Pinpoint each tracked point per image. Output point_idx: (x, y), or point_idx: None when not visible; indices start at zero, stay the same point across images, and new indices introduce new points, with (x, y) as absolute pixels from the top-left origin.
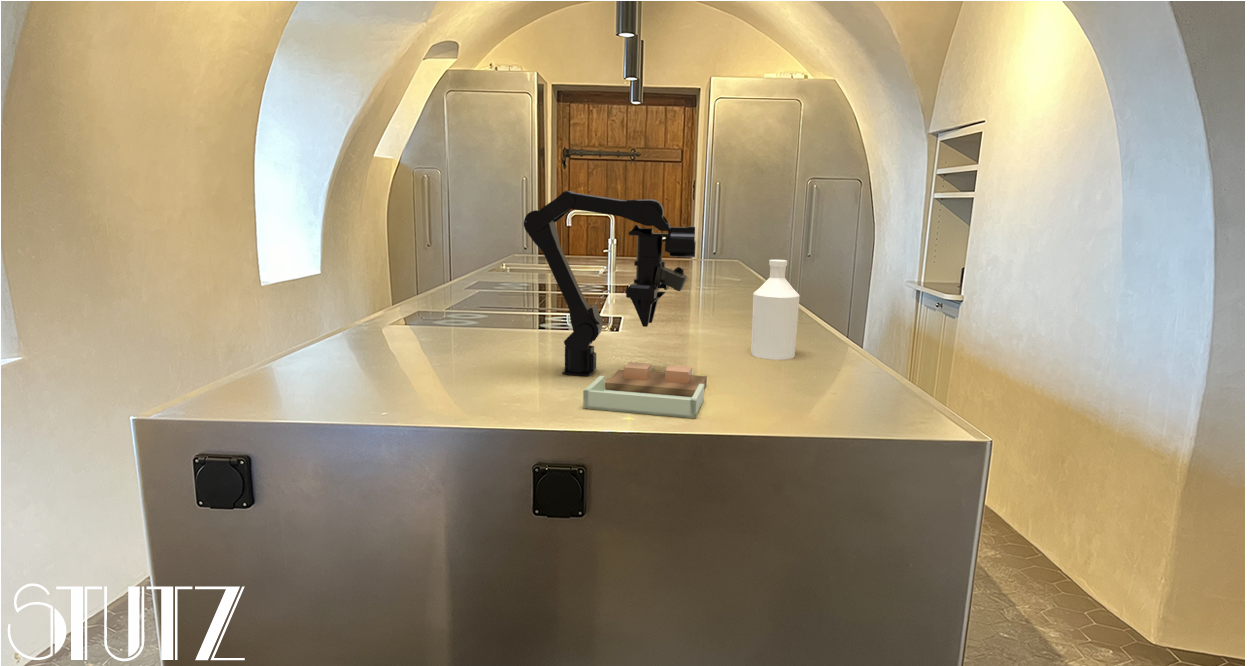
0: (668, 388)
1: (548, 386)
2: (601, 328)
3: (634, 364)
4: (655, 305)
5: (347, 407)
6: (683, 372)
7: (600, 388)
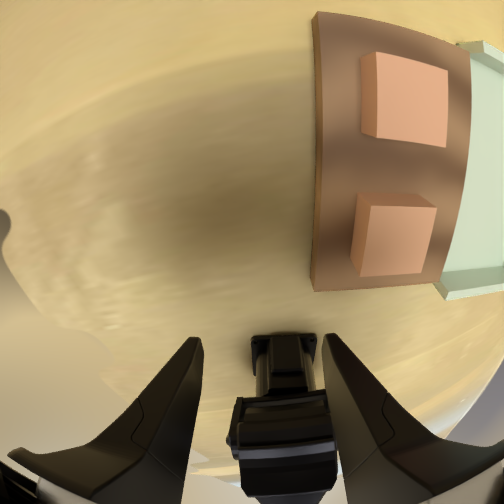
0: (469, 129)
1: (391, 357)
2: (262, 424)
3: (387, 256)
4: (159, 424)
5: (441, 420)
6: (446, 87)
7: (464, 277)
